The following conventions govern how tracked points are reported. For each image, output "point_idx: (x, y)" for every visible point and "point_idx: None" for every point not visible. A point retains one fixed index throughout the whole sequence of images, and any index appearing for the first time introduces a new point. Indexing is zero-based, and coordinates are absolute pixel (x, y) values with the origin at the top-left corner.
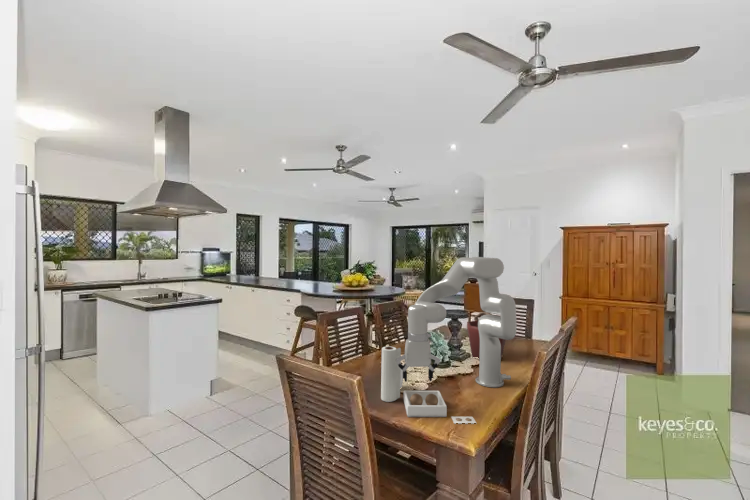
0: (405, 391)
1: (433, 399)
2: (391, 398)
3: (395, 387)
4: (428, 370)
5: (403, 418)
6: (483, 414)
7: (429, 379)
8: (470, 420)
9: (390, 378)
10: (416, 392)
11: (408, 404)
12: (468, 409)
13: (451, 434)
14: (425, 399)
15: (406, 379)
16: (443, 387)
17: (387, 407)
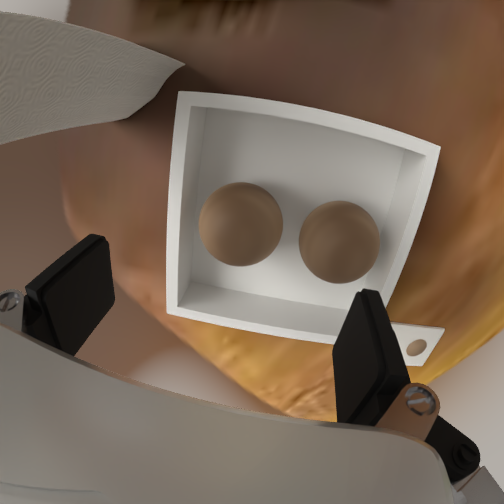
0: (187, 108)
1: (337, 283)
2: (118, 118)
3: (108, 101)
4: (376, 355)
5: (165, 290)
6: (487, 311)
7: (337, 347)
8: (417, 354)
9: (24, 136)
10: (274, 115)
11: (173, 297)
12: (477, 268)
13: (306, 399)
14: (300, 237)
15: (103, 312)
16: (481, 8)
17: (106, 178)
